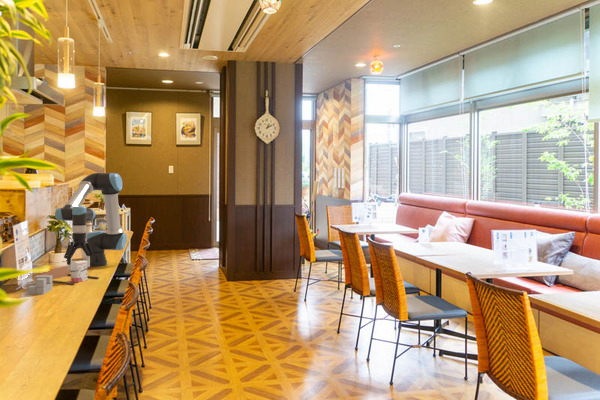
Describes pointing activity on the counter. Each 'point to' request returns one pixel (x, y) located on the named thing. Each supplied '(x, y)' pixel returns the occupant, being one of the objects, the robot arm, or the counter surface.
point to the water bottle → (88, 229)
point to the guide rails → (73, 283)
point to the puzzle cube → (40, 285)
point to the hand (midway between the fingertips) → (78, 268)
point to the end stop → (57, 272)
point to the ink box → (79, 271)
